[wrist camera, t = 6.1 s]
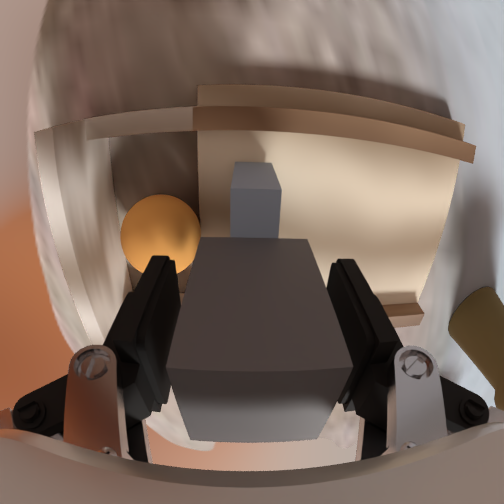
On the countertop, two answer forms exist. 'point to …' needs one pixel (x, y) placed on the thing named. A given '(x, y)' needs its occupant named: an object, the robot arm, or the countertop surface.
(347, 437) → the countertop surface
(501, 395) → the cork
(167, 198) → the ball
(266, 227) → the grey stepped block
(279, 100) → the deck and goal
